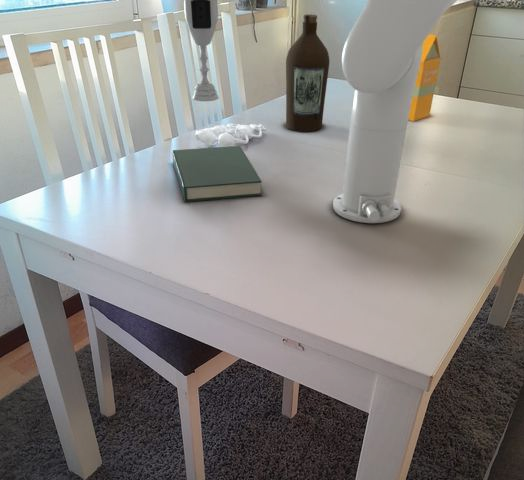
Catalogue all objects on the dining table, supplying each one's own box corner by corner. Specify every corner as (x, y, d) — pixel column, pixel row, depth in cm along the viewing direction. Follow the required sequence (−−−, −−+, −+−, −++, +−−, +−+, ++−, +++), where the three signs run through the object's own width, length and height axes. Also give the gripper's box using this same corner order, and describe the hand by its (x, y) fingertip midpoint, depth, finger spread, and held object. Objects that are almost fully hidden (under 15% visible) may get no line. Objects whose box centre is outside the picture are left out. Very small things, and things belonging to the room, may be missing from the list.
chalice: (222, 103, 100) (217, -14, 88) (185, 102, 100) (176, -15, 89) (225, 93, 105) (221, -18, 94) (190, 92, 105) (182, -19, 94)
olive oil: (282, 120, 146) (286, 11, 130) (321, 120, 146) (329, 12, 130) (285, 132, 137) (289, 18, 122) (326, 132, 138) (336, 18, 122)
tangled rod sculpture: (235, 129, 143) (234, 112, 140) (280, 135, 135) (279, 118, 133) (184, 146, 130) (182, 128, 128) (231, 154, 123) (229, 134, 120)
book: (261, 195, 106) (261, 181, 104) (184, 202, 103) (183, 187, 101) (240, 159, 122) (240, 145, 120) (173, 163, 119) (172, 150, 117)
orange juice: (403, 109, 156) (416, 29, 143) (429, 116, 151) (445, 34, 138) (387, 114, 152) (399, 32, 139) (413, 121, 147) (428, 37, 134)
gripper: (220, -111, 78) (225, 33, 89) (217, -106, 91) (221, 18, 102) (167, -112, 77) (179, 33, 88) (172, -107, 90) (181, 18, 102)
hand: (201, 24), depth 95 cm, fingers closed on chalice, 6 cm apart
